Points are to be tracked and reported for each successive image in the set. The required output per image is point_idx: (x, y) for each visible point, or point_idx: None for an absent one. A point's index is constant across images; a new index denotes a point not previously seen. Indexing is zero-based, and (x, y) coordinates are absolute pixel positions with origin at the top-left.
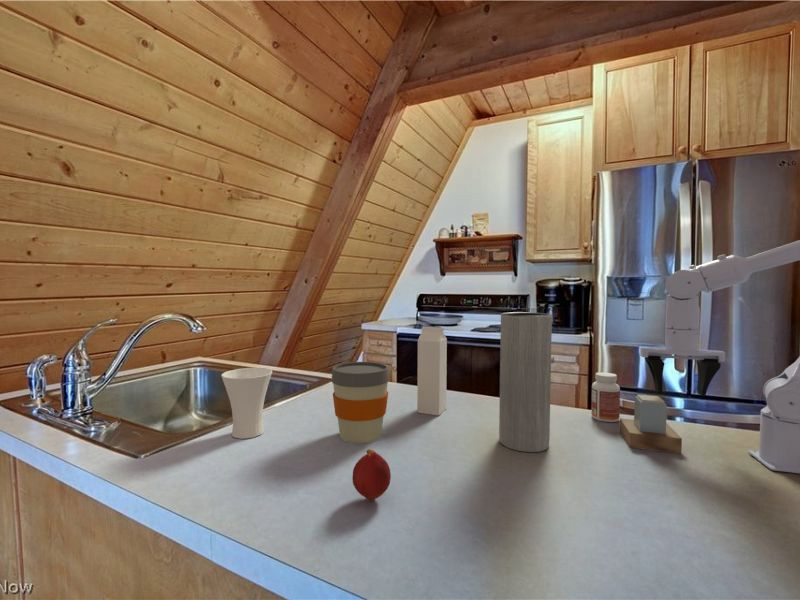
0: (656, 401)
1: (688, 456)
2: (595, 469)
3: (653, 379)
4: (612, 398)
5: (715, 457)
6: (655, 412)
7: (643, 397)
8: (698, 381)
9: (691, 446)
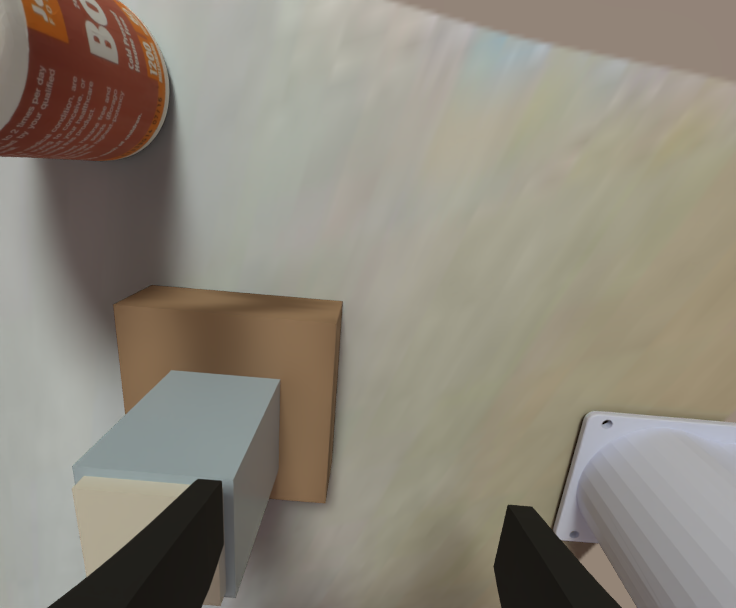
0: None
1: (346, 477)
2: (49, 604)
3: (128, 546)
4: (15, 152)
5: (436, 467)
6: None
7: (106, 549)
8: (554, 601)
9: (402, 388)
